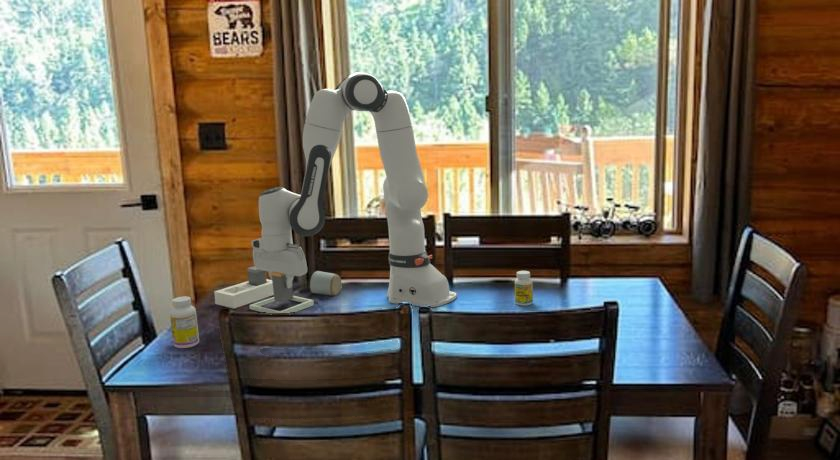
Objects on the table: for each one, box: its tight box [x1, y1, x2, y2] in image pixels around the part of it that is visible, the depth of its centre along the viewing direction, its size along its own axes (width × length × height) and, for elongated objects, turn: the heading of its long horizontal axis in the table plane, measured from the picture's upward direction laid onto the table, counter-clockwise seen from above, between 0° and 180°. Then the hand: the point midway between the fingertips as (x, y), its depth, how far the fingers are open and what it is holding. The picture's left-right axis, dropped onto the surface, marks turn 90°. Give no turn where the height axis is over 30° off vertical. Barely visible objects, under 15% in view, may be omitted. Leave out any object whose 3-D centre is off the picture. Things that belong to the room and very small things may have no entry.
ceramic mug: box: [309, 270, 343, 297], centre depth 234 cm, size 11×8×8 cm
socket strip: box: [213, 278, 274, 309], centre depth 229 cm, size 9×18×5 cm, turn 143°
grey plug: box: [271, 272, 294, 303], centre depth 219 cm, size 4×4×9 cm
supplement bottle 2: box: [514, 270, 534, 307], centre depth 216 cm, size 5×5×10 cm
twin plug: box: [247, 266, 267, 286], centre depth 232 cm, size 4×4×9 cm
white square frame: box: [248, 295, 315, 314], centre depth 220 cm, size 14×14×2 cm
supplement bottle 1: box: [169, 296, 200, 349], centre depth 193 cm, size 7×7×13 cm
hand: (282, 286), depth 219 cm, fingers closed on grey plug, 4 cm apart
